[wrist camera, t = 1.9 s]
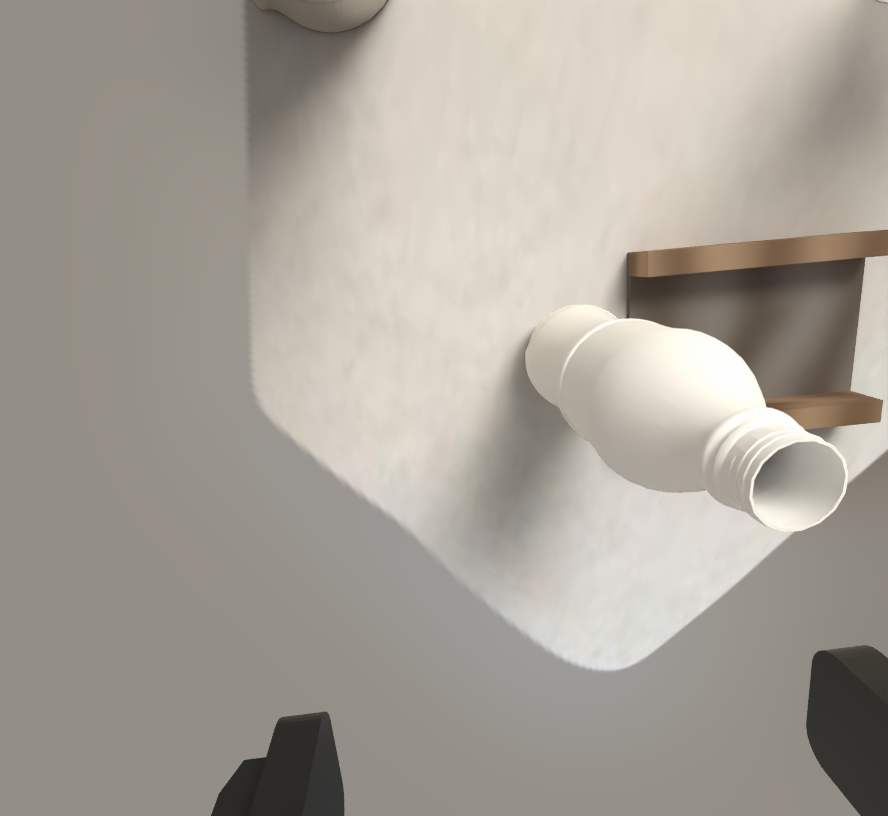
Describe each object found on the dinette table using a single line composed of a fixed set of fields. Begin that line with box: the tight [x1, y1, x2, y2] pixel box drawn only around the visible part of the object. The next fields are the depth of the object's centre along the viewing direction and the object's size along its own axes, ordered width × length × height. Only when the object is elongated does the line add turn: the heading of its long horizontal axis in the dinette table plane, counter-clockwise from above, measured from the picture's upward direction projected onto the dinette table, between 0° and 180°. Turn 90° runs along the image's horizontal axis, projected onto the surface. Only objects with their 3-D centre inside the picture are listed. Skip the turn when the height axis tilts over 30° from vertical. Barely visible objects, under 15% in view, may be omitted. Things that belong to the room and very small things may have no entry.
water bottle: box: [525, 305, 849, 532], centre depth 28 cm, size 7×7×25 cm
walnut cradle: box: [628, 230, 888, 430], centre depth 38 cm, size 17×13×4 cm
